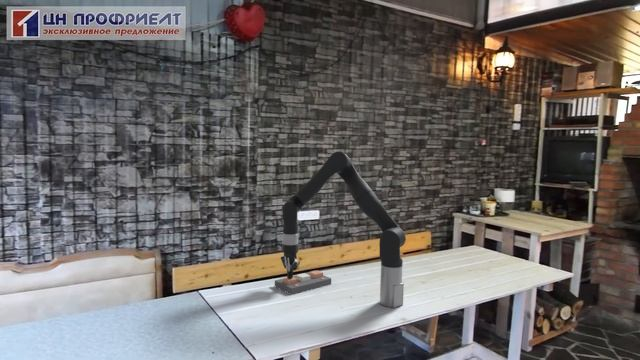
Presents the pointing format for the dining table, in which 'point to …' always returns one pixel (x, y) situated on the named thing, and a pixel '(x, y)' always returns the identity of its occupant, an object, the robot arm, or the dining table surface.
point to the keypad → (303, 284)
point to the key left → (289, 281)
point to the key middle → (303, 277)
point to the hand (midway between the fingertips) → (289, 278)
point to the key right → (316, 274)
